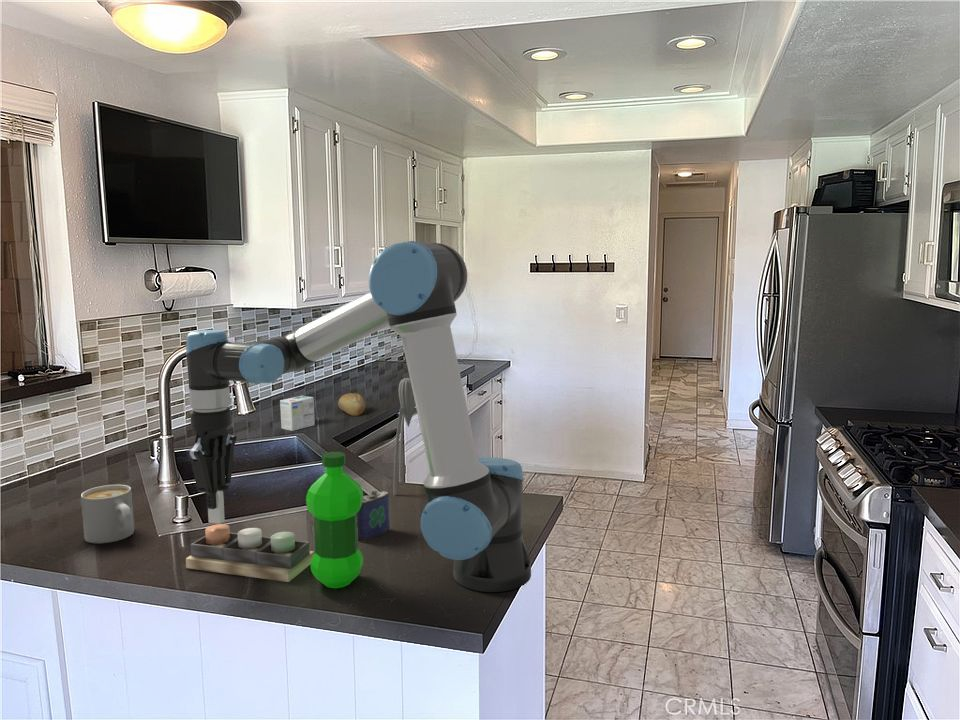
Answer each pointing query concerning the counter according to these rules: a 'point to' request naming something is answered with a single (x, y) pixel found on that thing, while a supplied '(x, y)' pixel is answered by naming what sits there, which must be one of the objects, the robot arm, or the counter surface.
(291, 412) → the light bulb box
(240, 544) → the white button
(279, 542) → the sage button
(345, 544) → the plastic bottle
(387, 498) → the flask
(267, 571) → the button panel
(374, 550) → the counter surface
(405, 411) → the citrus juicer
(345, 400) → the potato
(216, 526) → the terracotta button
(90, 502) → the coffee mug
